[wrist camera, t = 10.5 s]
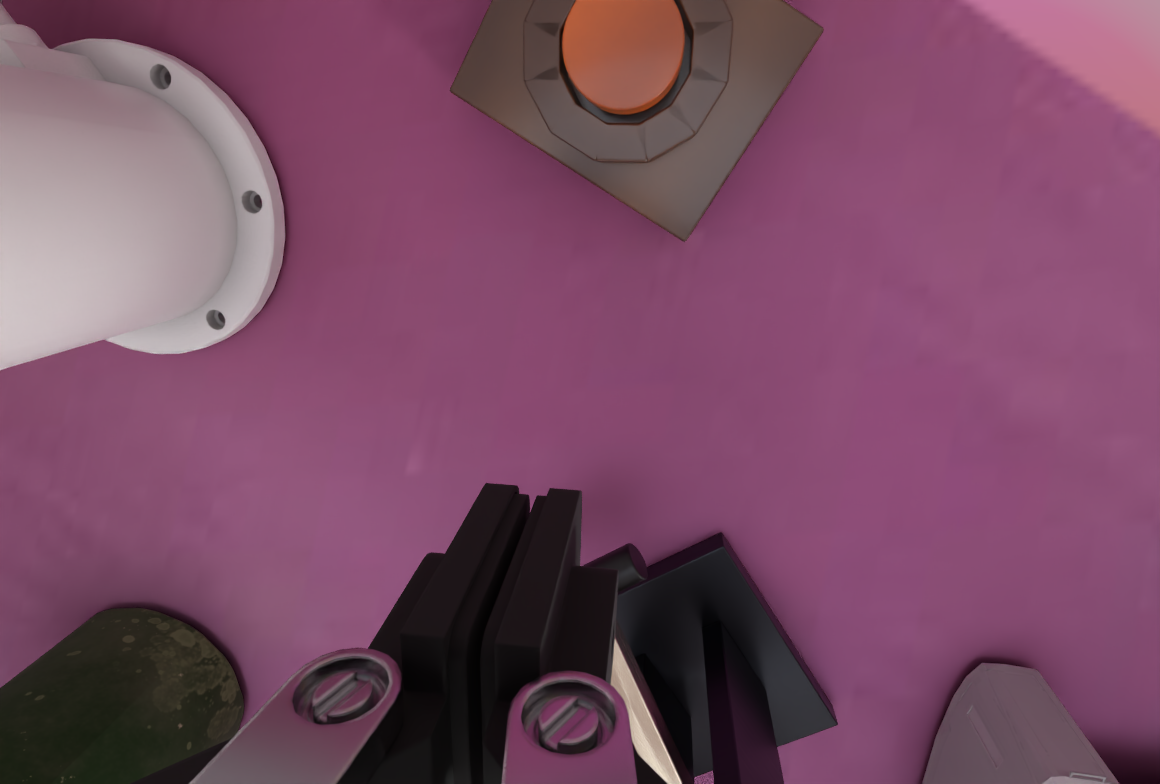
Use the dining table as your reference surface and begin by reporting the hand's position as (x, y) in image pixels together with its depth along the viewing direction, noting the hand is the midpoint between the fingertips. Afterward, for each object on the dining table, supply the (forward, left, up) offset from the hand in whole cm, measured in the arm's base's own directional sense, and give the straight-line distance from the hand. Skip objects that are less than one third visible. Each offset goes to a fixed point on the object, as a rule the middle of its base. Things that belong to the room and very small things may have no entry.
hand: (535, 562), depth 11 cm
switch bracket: (+16, -5, -17) cm, 24 cm away
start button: (-8, +6, -13) cm, 17 cm away
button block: (-8, +6, -17) cm, 20 cm away
